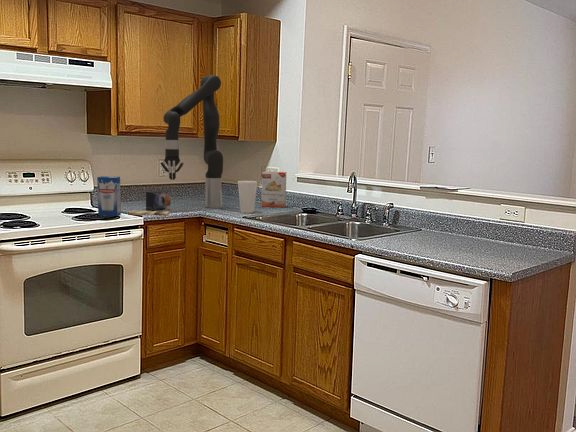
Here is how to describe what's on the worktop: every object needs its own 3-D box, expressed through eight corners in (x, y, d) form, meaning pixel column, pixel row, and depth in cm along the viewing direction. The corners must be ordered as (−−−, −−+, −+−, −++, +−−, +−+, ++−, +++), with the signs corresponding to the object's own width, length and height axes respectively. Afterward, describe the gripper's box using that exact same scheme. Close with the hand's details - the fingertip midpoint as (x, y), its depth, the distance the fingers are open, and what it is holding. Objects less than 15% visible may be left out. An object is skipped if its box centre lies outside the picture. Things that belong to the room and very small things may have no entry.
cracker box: (261, 207, 359) (261, 171, 356) (262, 205, 365) (263, 171, 362) (284, 207, 357) (285, 172, 354) (285, 206, 363) (286, 171, 360)
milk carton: (121, 214, 317) (120, 176, 314) (117, 216, 310) (116, 177, 308) (102, 214, 317) (101, 176, 314) (98, 216, 311) (97, 177, 308)
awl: (170, 211, 332) (170, 195, 330) (169, 212, 329) (169, 196, 327) (165, 211, 332) (165, 195, 330) (164, 212, 329) (164, 195, 327)
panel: (169, 213, 326) (169, 211, 326) (166, 215, 317) (166, 213, 317) (132, 212, 326) (132, 210, 326) (128, 214, 317) (128, 212, 317)
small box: (153, 211, 333) (152, 192, 331) (145, 210, 337) (145, 191, 335) (167, 209, 341) (167, 190, 340) (160, 208, 345) (159, 190, 344)
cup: (249, 210, 343) (249, 180, 340) (260, 212, 335) (261, 181, 333) (233, 212, 335) (233, 181, 333) (244, 214, 328) (245, 182, 325)
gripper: (185, 148, 338) (185, 179, 340) (161, 147, 338) (161, 178, 340) (183, 148, 330) (183, 180, 333) (158, 148, 330) (158, 180, 333)
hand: (172, 179), depth 337 cm, fingers closed
